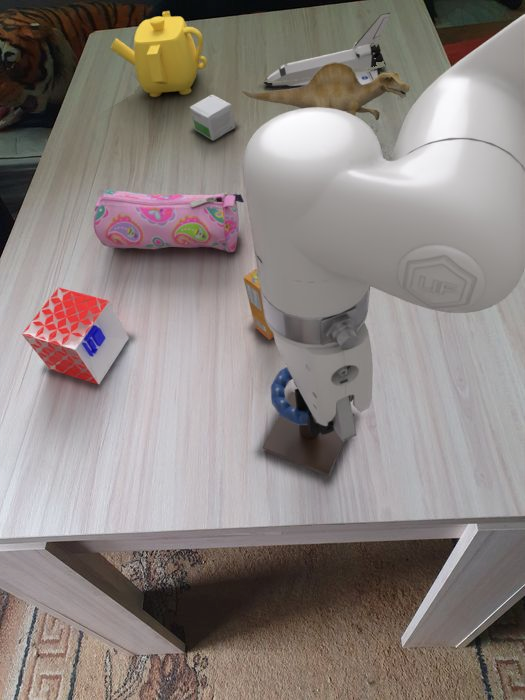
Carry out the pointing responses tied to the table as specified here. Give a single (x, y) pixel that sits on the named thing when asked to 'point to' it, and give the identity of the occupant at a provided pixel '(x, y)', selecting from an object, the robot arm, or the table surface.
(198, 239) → the pencil case
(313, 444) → the peg
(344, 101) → the dinosaur figurine
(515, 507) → the table surface
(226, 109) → the small box
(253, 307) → the supplement box
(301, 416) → the ring
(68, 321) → the red patterned cube box
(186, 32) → the teapot
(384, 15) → the space shuttle model
